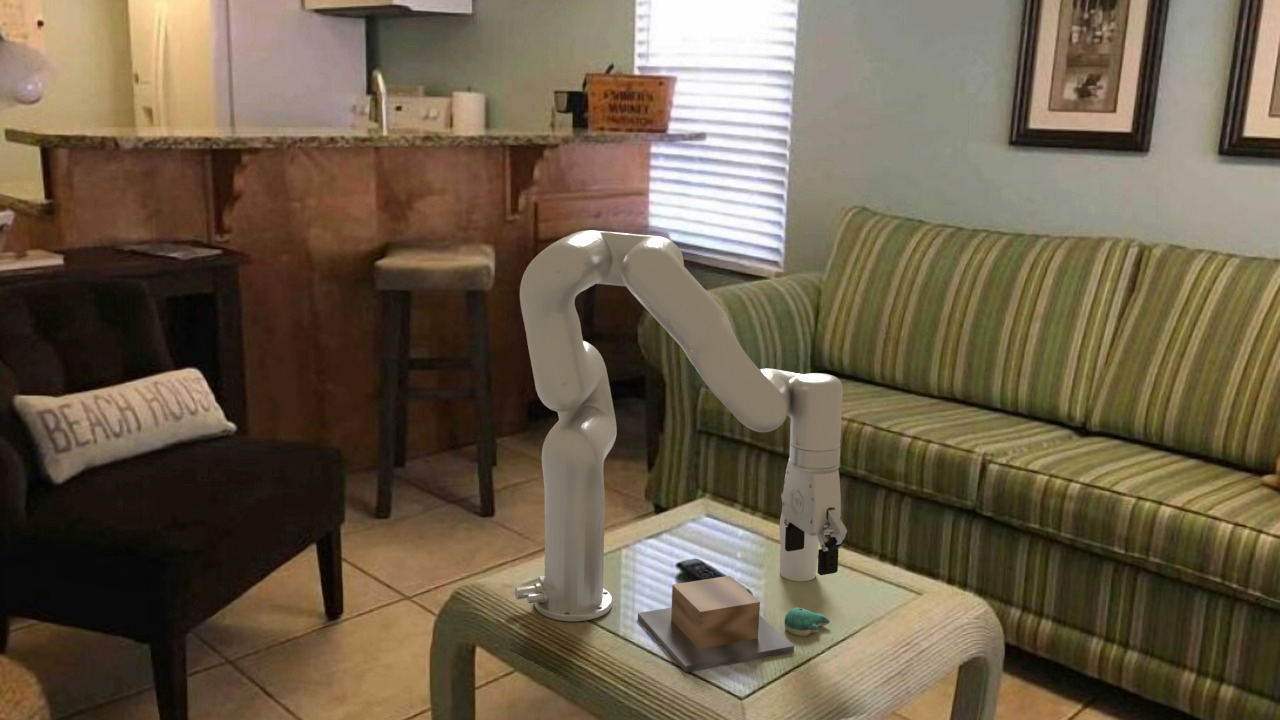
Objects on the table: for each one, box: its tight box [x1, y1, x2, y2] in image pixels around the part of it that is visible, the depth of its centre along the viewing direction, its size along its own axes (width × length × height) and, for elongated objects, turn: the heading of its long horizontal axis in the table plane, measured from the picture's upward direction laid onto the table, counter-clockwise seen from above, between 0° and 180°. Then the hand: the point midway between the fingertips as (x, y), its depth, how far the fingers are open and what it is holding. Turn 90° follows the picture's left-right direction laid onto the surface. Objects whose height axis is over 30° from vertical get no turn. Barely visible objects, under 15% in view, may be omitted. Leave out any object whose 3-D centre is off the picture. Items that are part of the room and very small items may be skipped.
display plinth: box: [637, 575, 795, 673], centre depth 171 cm, size 18×18×7 cm
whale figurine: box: [784, 607, 830, 637], centre depth 174 cm, size 6×7×4 cm
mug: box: [779, 512, 820, 582], centre depth 195 cm, size 10×7×12 cm, turn 22°
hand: (810, 561), depth 172 cm, fingers open, 9 cm apart
